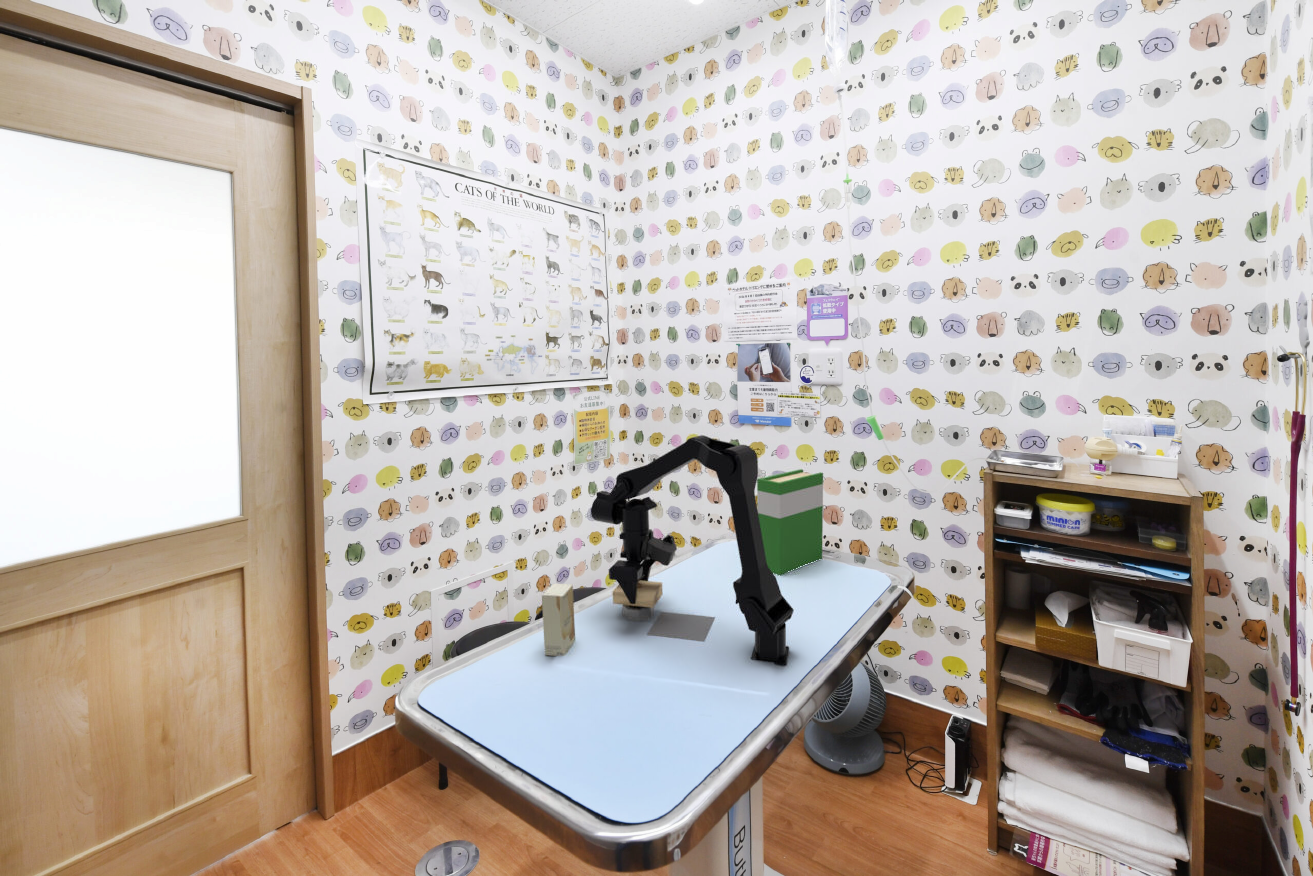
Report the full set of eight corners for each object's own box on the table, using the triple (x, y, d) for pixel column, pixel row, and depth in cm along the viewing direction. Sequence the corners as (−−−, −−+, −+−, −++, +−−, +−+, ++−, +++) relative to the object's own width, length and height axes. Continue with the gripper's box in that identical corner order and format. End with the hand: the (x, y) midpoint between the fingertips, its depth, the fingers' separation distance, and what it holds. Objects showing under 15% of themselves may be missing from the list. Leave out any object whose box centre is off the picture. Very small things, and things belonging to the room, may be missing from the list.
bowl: (648, 624, 125) (647, 611, 125) (620, 621, 127) (619, 608, 127) (657, 611, 131) (656, 599, 131) (629, 609, 133) (629, 596, 133)
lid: (653, 607, 124) (652, 592, 123) (613, 603, 127) (612, 589, 126) (662, 594, 130) (662, 580, 130) (624, 591, 133) (623, 576, 133)
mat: (704, 643, 116) (704, 641, 116) (646, 637, 120) (646, 634, 120) (715, 619, 127) (715, 617, 127) (661, 613, 130) (661, 611, 130)
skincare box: (565, 657, 113) (562, 596, 111) (544, 656, 113) (540, 595, 112) (576, 641, 119) (573, 583, 117) (556, 640, 120) (552, 582, 118)
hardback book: (800, 552, 167) (800, 469, 163) (822, 559, 161) (823, 473, 157) (757, 568, 156) (757, 479, 152) (779, 575, 150) (779, 483, 147)
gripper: (659, 543, 115) (661, 619, 117) (683, 517, 133) (684, 583, 135) (606, 540, 118) (609, 613, 120) (636, 515, 136) (638, 579, 138)
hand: (638, 596), depth 128 cm, fingers closed on lid, 7 cm apart
